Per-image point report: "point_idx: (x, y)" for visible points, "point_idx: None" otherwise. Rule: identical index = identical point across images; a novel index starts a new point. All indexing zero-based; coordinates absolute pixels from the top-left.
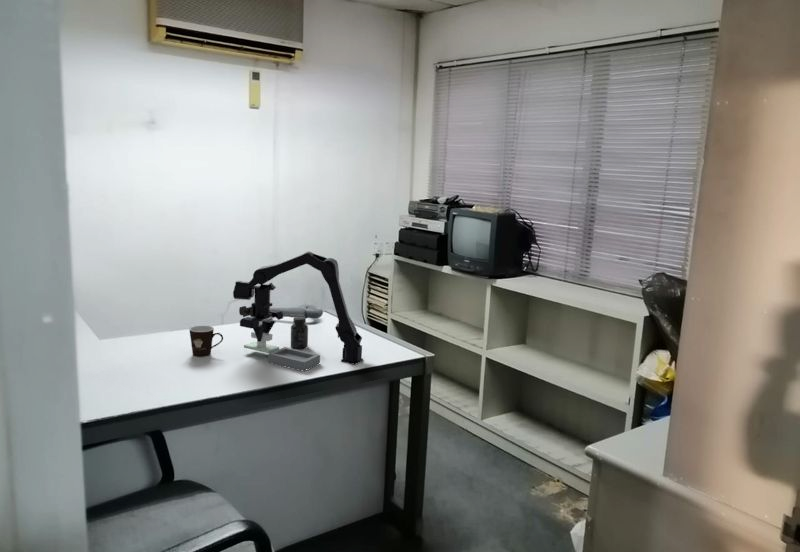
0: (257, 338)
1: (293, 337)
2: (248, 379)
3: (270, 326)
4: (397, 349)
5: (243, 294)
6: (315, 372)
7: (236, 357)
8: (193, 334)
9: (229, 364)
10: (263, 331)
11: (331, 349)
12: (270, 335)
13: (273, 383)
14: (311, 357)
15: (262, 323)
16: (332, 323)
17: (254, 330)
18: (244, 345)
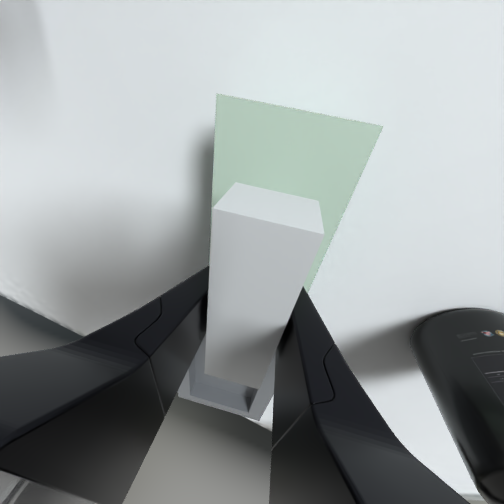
0: (205, 273)
1: (453, 387)
2: (42, 277)
3: (273, 478)
4: None
5: None
6: None
7: (145, 99)
8: None
9: (46, 137)
10: (288, 344)
11: (427, 410)
12: (235, 379)
13: (84, 330)
14: (224, 407)
15: (318, 486)
16: None
17: (115, 329)
18: (217, 102)
